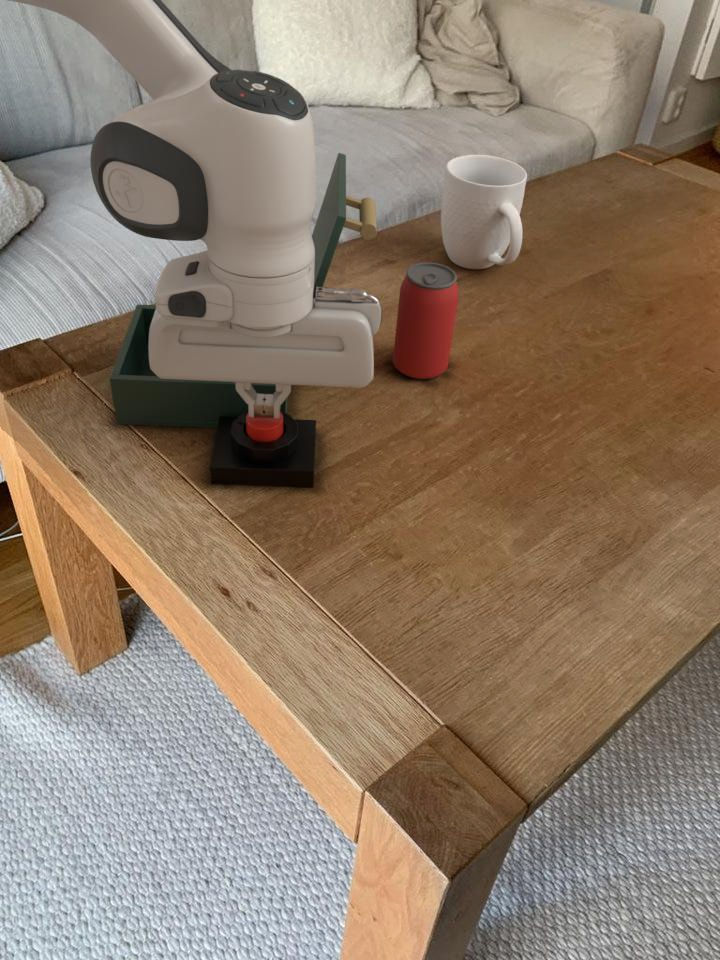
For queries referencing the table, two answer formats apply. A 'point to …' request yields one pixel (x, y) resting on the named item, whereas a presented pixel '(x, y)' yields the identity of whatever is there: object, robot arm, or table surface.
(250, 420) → the button
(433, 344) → the beer can
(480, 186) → the mug
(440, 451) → the table surface
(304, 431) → the control block
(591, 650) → the table surface
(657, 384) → the table surface
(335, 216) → the box lid
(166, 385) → the box
